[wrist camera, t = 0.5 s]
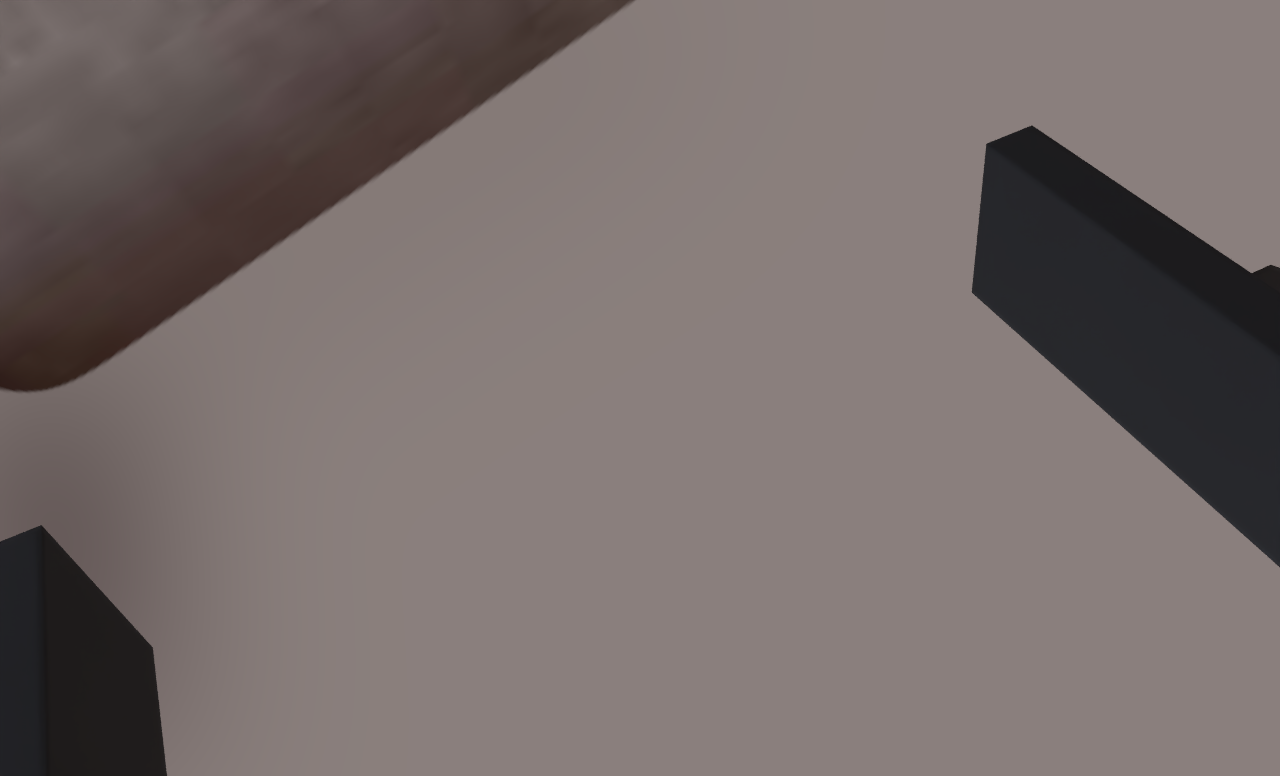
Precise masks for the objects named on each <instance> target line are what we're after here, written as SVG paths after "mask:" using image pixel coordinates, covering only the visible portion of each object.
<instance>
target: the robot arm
mask: <svg viewBox="0 0 1280 776" xmlns="http://www.w3.org/2000/svg"><path fill="white" fill-rule="evenodd" d="M974 266H975V267H974V277H973V286H972V293H973V294H974V295H975V296H977V297H978V298H979V299H980V300H981V301H982V302H983V303H984V304H985V305H987V306H988V307H989V308H990V309H991V310H992V311H993V312H994V313H995V314H996V315H998V316H999V317H1000V318H1001V319H1002V320H1003V321H1004V322H1006V323H1007V324H1008V325H1009V326H1010V327H1011V328H1012V329H1013V330H1014V331H1016V332H1017V333H1018V334H1019V335H1020V336H1021V337H1022V338H1024V339H1025V340H1026V341H1027V342H1028V343H1029V344H1030V345H1031V346H1032V347H1034V348H1035V349H1036V350H1037V351H1038V352H1039V353H1040V354H1041V355H1043V356H1044V357H1045V358H1046V359H1047V360H1048V361H1049V362H1050V363H1051V364H1053V365H1054V366H1055V367H1056V368H1057V369H1058V370H1059V371H1060V372H1062V373H1063V374H1064V375H1065V376H1066V377H1067V378H1068V379H1069V380H1071V381H1072V382H1073V383H1074V384H1075V385H1076V386H1077V387H1078V388H1080V389H1081V390H1082V391H1083V392H1084V393H1085V394H1086V395H1087V396H1088V397H1090V398H1091V399H1092V400H1093V401H1094V402H1095V403H1096V404H1097V405H1099V406H1100V407H1101V408H1102V409H1103V410H1104V411H1105V412H1106V413H1108V414H1109V415H1110V416H1111V417H1112V418H1113V419H1114V420H1115V421H1116V422H1118V423H1119V424H1120V425H1121V426H1122V427H1123V428H1124V429H1126V430H1127V431H1128V432H1129V433H1130V434H1131V435H1132V436H1133V437H1134V438H1136V439H1137V440H1138V441H1139V442H1140V443H1141V444H1142V445H1143V446H1145V447H1146V448H1147V449H1148V450H1149V451H1150V452H1151V453H1152V454H1154V455H1155V456H1156V457H1157V458H1158V459H1159V460H1160V461H1161V462H1163V463H1164V464H1165V465H1166V466H1167V467H1168V468H1169V469H1170V470H1172V471H1173V472H1174V473H1175V474H1176V475H1177V476H1178V477H1179V478H1180V479H1182V480H1183V481H1184V482H1185V483H1186V484H1187V485H1188V486H1189V487H1191V488H1192V489H1193V490H1194V491H1195V492H1196V493H1197V494H1198V495H1200V496H1201V497H1202V498H1203V499H1204V500H1205V501H1206V502H1207V503H1209V504H1210V505H1211V506H1212V507H1213V508H1214V509H1215V510H1216V511H1217V512H1219V513H1220V514H1221V515H1222V516H1223V517H1224V518H1226V520H1227V521H1229V522H1230V523H1231V524H1232V525H1233V526H1234V527H1235V528H1236V529H1238V530H1239V531H1240V532H1241V533H1242V534H1243V535H1244V536H1245V537H1247V538H1248V539H1249V540H1250V541H1251V542H1252V543H1253V544H1254V545H1256V546H1257V547H1258V548H1259V549H1260V550H1261V551H1262V552H1263V553H1265V554H1266V555H1267V556H1268V557H1269V558H1270V559H1271V560H1273V562H1275V563H1276V564H1277V565H1278V566H1279V567H1280V268H1279V267H1275V266H1273V265H1269V266H1267V267H1265V268H1263V269H1261V270H1258V271H1256V272H1254V273H1250V272H1249V271H1247V270H1246V269H1244V268H1243V267H1241V266H1240V265H1238V264H1237V263H1235V262H1234V261H1232V260H1231V259H1229V258H1228V257H1226V256H1225V255H1223V254H1222V253H1220V252H1219V251H1218V250H1216V249H1214V248H1213V247H1212V246H1210V245H1209V244H1207V243H1205V242H1204V241H1203V240H1201V239H1200V238H1198V237H1197V236H1195V235H1194V234H1192V233H1191V232H1189V231H1188V230H1186V229H1185V228H1183V227H1182V226H1180V225H1179V224H1177V223H1176V222H1174V221H1173V220H1172V219H1170V218H1168V217H1167V216H1165V215H1164V214H1163V213H1161V212H1160V211H1158V210H1157V209H1155V208H1154V207H1152V206H1151V205H1149V204H1148V203H1146V202H1145V201H1143V200H1142V199H1140V198H1139V197H1137V196H1136V195H1134V194H1133V193H1131V192H1130V191H1128V190H1127V189H1126V188H1124V187H1122V186H1121V185H1120V184H1118V183H1117V182H1115V181H1114V180H1112V179H1111V178H1109V177H1108V176H1106V175H1105V174H1103V173H1102V172H1100V171H1099V170H1097V169H1096V168H1094V167H1093V166H1091V165H1090V164H1088V163H1087V162H1085V161H1084V160H1082V159H1081V158H1079V157H1078V156H1076V155H1075V154H1074V153H1072V152H1071V151H1069V150H1068V149H1066V148H1065V147H1063V146H1062V145H1060V144H1059V143H1057V142H1056V141H1054V140H1053V139H1051V138H1049V137H1048V136H1047V135H1045V134H1044V133H1042V132H1041V131H1039V130H1038V129H1036V128H1035V127H1033V126H1030V127H1027V128H1024V129H1022V130H1020V131H1017V132H1015V133H1012V134H1010V135H1007V136H1005V137H1002V138H1000V139H997V140H995V141H992V142H990V143H987V144H986V155H985V164H984V174H983V185H982V194H981V204H980V214H979V225H978V235H977V246H976V256H975V265H974ZM0 776H167V773H166V764H165V754H164V746H163V737H162V727H161V718H160V709H159V700H158V691H157V682H156V673H155V664H154V655H153V647H152V646H151V645H150V644H149V643H148V642H147V641H146V640H145V639H144V637H143V636H142V635H141V634H140V633H139V632H138V631H137V630H136V629H135V628H134V626H133V625H132V624H131V623H130V622H129V621H128V620H127V619H126V618H125V617H124V615H123V614H122V613H121V612H120V611H119V610H118V609H117V608H116V607H115V606H114V604H113V603H112V602H111V601H110V600H109V599H108V598H107V597H106V596H105V595H104V593H103V592H102V591H101V590H100V589H99V588H98V587H97V586H96V585H95V584H94V583H93V581H92V580H91V579H90V578H89V577H88V576H87V575H86V574H85V573H84V571H83V570H82V569H81V568H80V567H79V566H78V565H77V564H76V563H75V562H74V561H73V559H72V558H71V557H70V556H69V555H68V554H67V553H66V552H65V551H64V550H63V548H62V547H61V546H60V545H59V544H58V543H57V542H56V541H55V540H54V538H53V537H52V536H51V535H50V534H49V533H48V532H47V531H46V530H45V529H44V528H43V527H42V526H38V527H36V528H33V529H31V530H28V531H26V532H23V533H21V534H18V535H16V536H13V537H11V538H8V539H6V540H3V541H1V542H0Z"/></svg>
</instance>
